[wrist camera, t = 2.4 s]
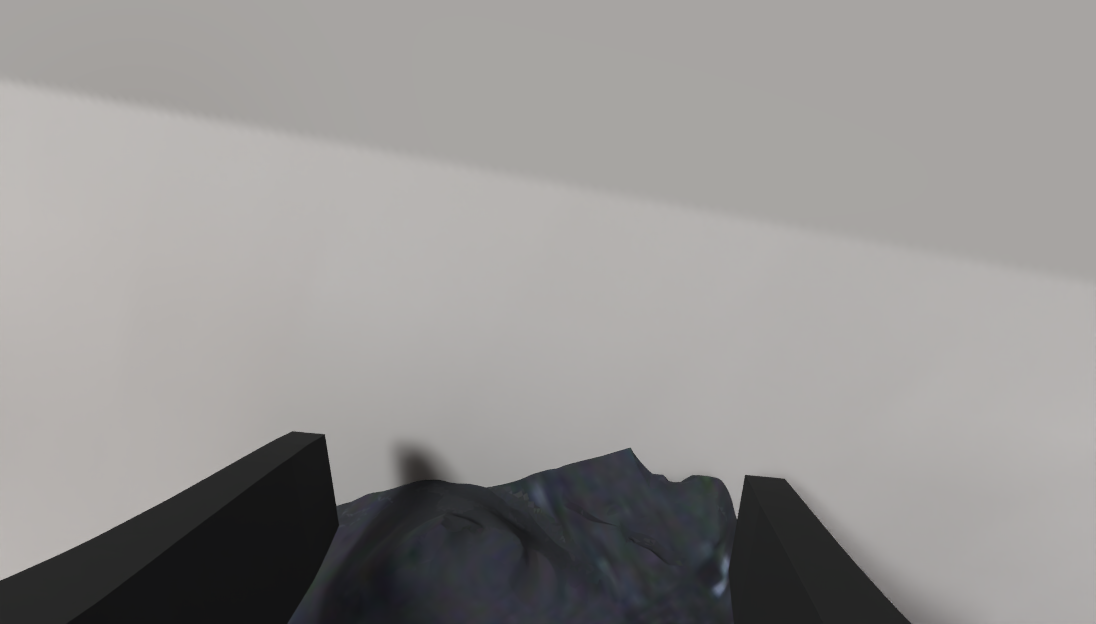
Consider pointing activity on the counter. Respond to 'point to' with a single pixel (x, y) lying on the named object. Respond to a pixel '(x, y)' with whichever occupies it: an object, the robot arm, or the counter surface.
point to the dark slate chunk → (532, 551)
